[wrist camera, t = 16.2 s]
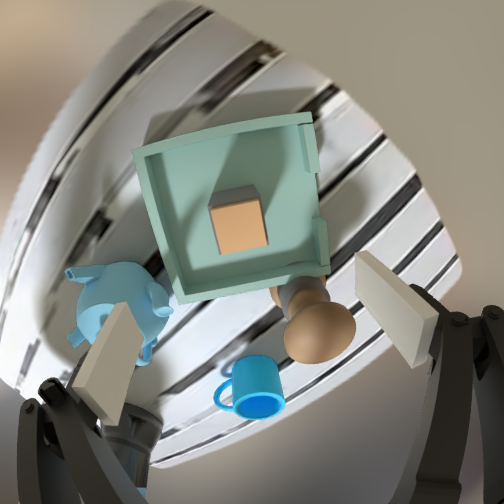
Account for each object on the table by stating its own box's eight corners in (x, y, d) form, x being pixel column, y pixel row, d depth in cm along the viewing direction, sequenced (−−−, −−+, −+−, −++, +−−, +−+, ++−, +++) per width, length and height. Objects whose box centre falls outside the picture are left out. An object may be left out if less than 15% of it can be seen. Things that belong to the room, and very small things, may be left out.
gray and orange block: (211, 192, 31) (206, 208, 24) (253, 184, 31) (261, 196, 24) (221, 232, 33) (219, 258, 26) (261, 223, 33) (270, 247, 26)
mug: (269, 349, 43) (276, 386, 35) (283, 376, 46) (291, 411, 38) (203, 368, 44) (201, 405, 36) (223, 394, 47) (224, 428, 39)
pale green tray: (182, 291, 37) (178, 304, 34) (141, 149, 29) (131, 150, 26) (322, 262, 37) (330, 273, 34) (302, 114, 29) (311, 111, 26)
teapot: (97, 228, 33) (54, 263, 22) (187, 263, 36) (173, 312, 25) (86, 312, 38) (57, 357, 27) (161, 342, 41) (147, 395, 30)
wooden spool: (273, 312, 40) (288, 370, 29) (264, 264, 37) (280, 317, 26) (325, 300, 40) (354, 353, 29) (321, 252, 37) (357, 298, 26)
